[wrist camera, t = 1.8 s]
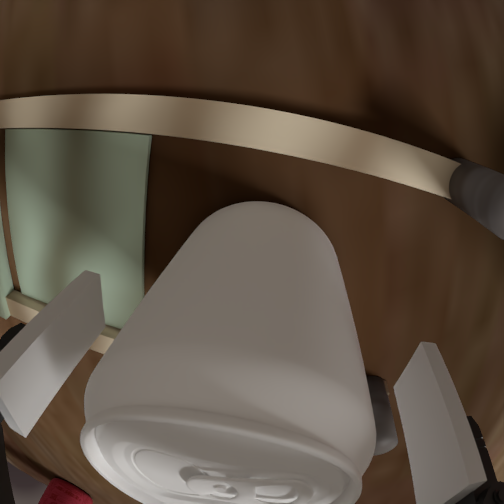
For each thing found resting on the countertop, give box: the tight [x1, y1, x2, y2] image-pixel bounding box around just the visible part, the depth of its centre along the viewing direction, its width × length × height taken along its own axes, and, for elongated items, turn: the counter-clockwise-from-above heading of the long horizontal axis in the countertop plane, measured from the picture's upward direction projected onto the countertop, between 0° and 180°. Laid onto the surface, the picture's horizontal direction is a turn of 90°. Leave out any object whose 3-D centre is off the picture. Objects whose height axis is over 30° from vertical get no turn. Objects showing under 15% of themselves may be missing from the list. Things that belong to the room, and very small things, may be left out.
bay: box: [0, 94, 504, 455], centre depth 15 cm, size 30×17×5 cm, turn 81°
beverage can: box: [80, 201, 376, 504], centre depth 12 cm, size 8×8×12 cm
